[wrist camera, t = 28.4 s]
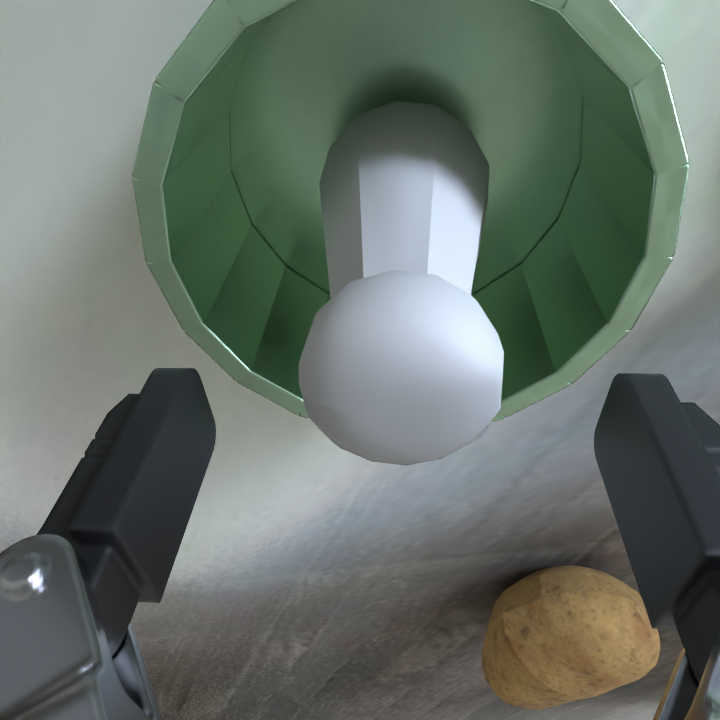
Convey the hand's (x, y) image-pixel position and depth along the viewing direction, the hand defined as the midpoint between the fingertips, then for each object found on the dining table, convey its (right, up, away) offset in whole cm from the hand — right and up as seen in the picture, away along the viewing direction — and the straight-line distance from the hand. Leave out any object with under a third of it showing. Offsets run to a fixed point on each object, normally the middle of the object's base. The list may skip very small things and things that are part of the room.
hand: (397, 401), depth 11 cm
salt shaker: (+1, +8, +10) cm, 13 cm away
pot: (+1, +8, +10) cm, 13 cm away
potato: (+13, -16, +30) cm, 36 cm away
